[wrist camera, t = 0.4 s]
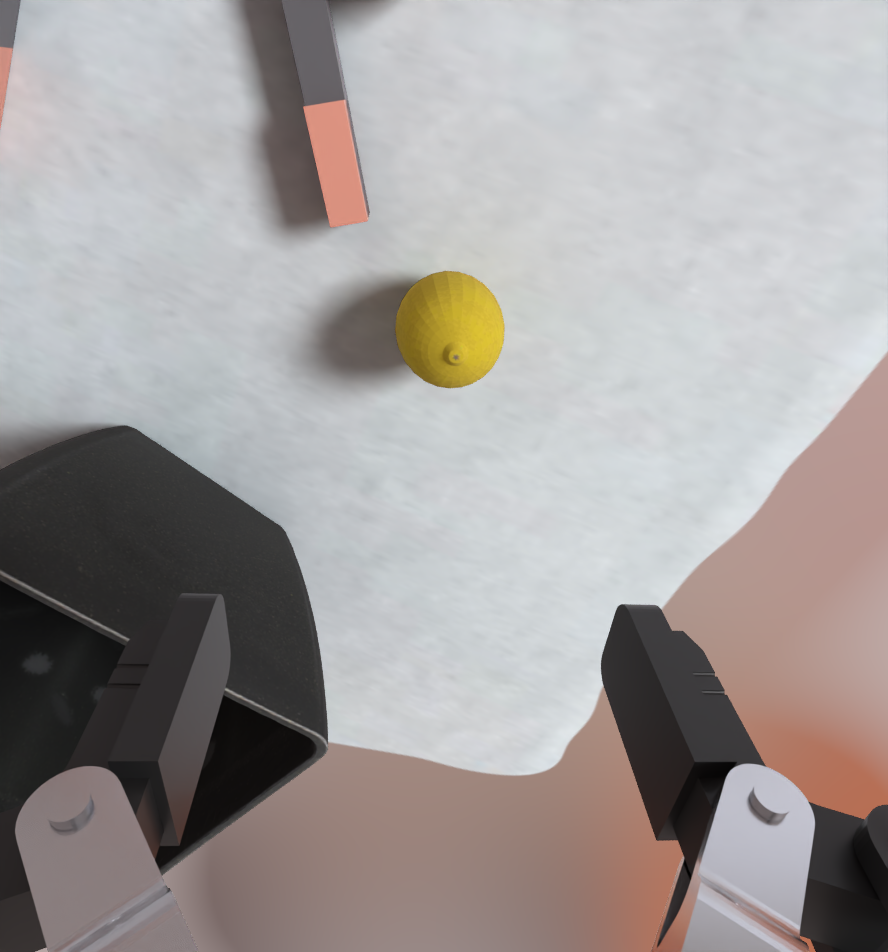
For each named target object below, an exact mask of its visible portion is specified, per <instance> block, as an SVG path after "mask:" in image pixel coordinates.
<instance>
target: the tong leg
mask: <svg viewBox="0 0 888 952" xmlns="http://www.w3.org/2000/svg"><path fill="white" fill-rule="evenodd" d="M281 1H282V5H283V10H284V14H285V19H286V23H287V27H288V32H289V36H290V41H291V45H292V50H293V54H294V59H295V63H296V67H297V72H298V76H299V81H300V85H301V90H302V94H303V99H304V103H305V106H304V107H303V109H304V113H305V118H306V122H307V126H308V131H309V135H310V140H311V144H312V148H313V153H314V157H315V162H316V166H317V170H318V175H319V179H320V184H321V188H322V193H323V197H324V201H325V206H326V210H327V215H328V219H329V223H330V227H336V226H342V225H348V224H354V223H360V222H366V221H368V217H369V213H370V211H369V206H368V201H367V196H366V191H365V186H364V180H363V175H362V170H361V165H360V160H359V155H358V149H357V144H356V139H355V134H354V129H353V123H352V118H351V113H350V108H349V103H348V98H347V92H346V87H345V82H344V77H343V72H342V67H341V61H340V56H339V51H338V46H337V41H336V35H335V30H334V25H333V20H332V15H331V10H330V4H329V0H281Z"/></svg>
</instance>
